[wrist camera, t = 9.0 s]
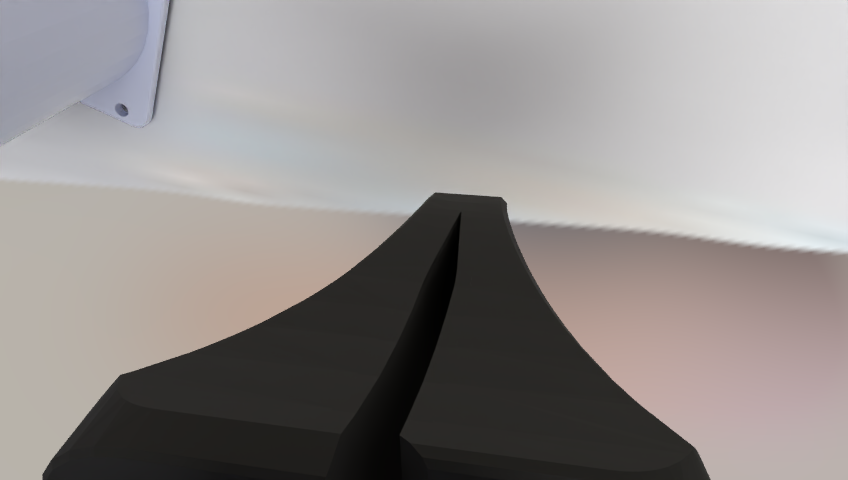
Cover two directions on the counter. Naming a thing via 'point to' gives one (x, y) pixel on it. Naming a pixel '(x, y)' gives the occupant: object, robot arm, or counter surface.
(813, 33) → the counter surface
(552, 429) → the robot arm
